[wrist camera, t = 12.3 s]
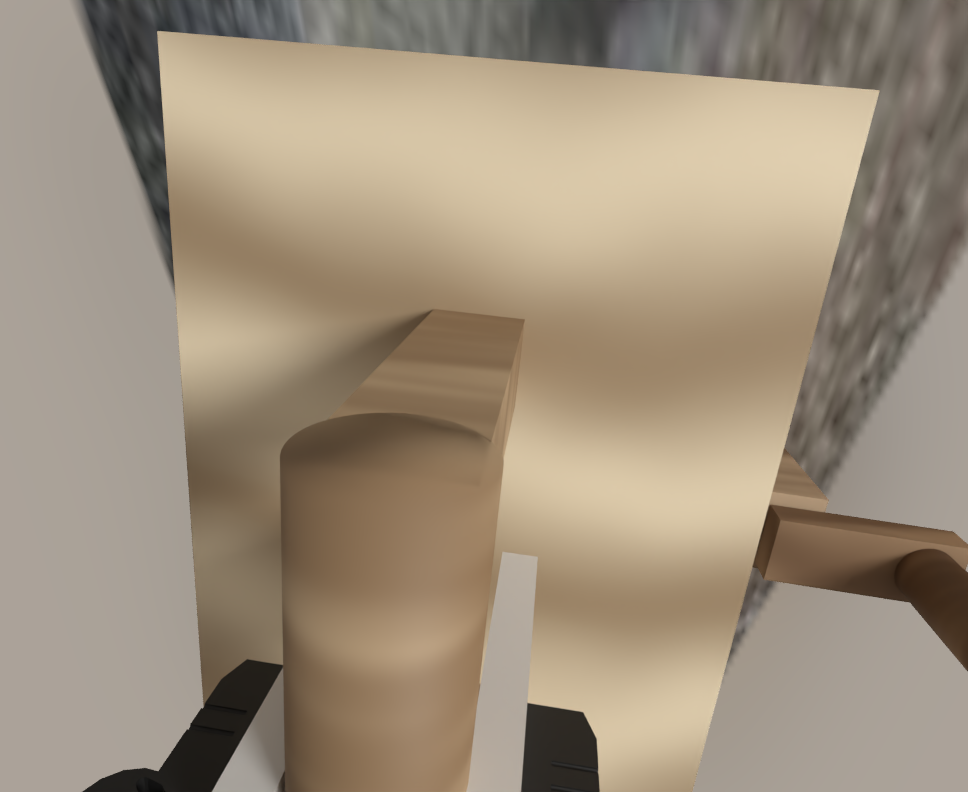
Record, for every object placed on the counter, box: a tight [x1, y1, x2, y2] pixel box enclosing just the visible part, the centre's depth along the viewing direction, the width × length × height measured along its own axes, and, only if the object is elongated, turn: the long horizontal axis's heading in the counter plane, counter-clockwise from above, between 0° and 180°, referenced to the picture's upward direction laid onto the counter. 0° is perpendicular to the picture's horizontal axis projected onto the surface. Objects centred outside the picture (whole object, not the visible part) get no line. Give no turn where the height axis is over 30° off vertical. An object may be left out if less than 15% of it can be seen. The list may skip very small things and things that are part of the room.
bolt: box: [755, 504, 968, 671], centre depth 24 cm, size 3×8×12 cm, turn 84°
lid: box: [157, 31, 880, 792], centre depth 13 cm, size 22×14×11 cm, turn 175°
